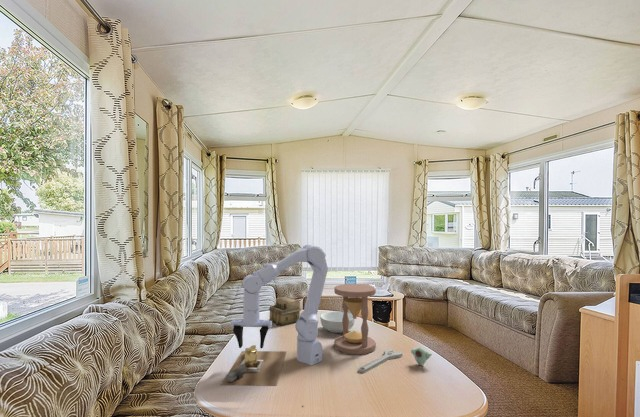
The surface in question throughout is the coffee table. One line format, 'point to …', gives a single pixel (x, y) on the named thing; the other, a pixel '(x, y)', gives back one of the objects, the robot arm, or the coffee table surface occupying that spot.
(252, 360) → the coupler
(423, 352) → the robot head
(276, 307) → the miniature house
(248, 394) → the coffee table surface
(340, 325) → the cereal bowl
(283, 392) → the coffee table surface
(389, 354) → the adjustable wrench
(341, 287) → the hourglass
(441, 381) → the coffee table surface
